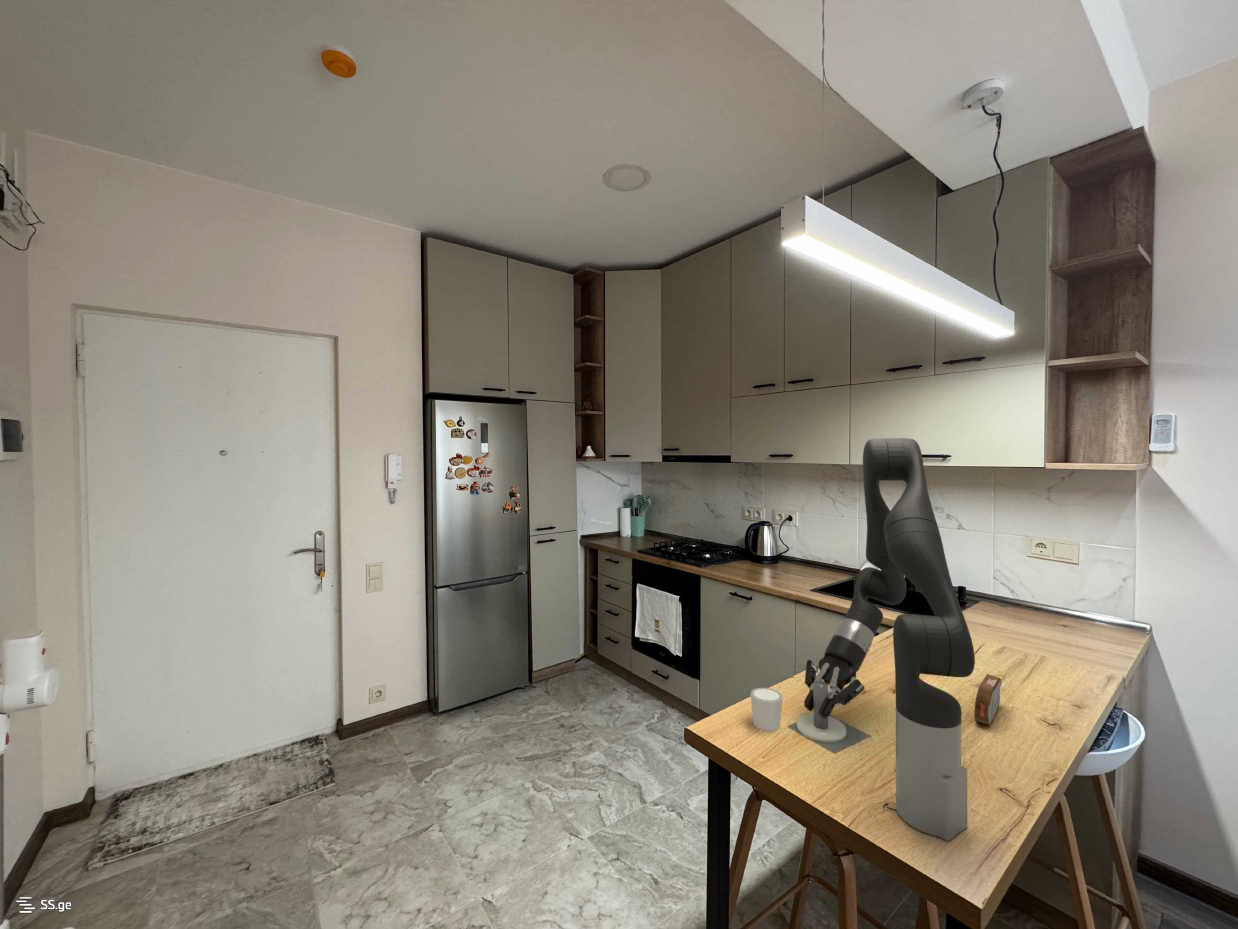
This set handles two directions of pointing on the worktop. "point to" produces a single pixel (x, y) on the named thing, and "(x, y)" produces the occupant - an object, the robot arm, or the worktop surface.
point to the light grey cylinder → (766, 708)
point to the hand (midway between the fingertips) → (814, 712)
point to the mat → (851, 738)
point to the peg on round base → (820, 720)
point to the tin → (987, 699)
